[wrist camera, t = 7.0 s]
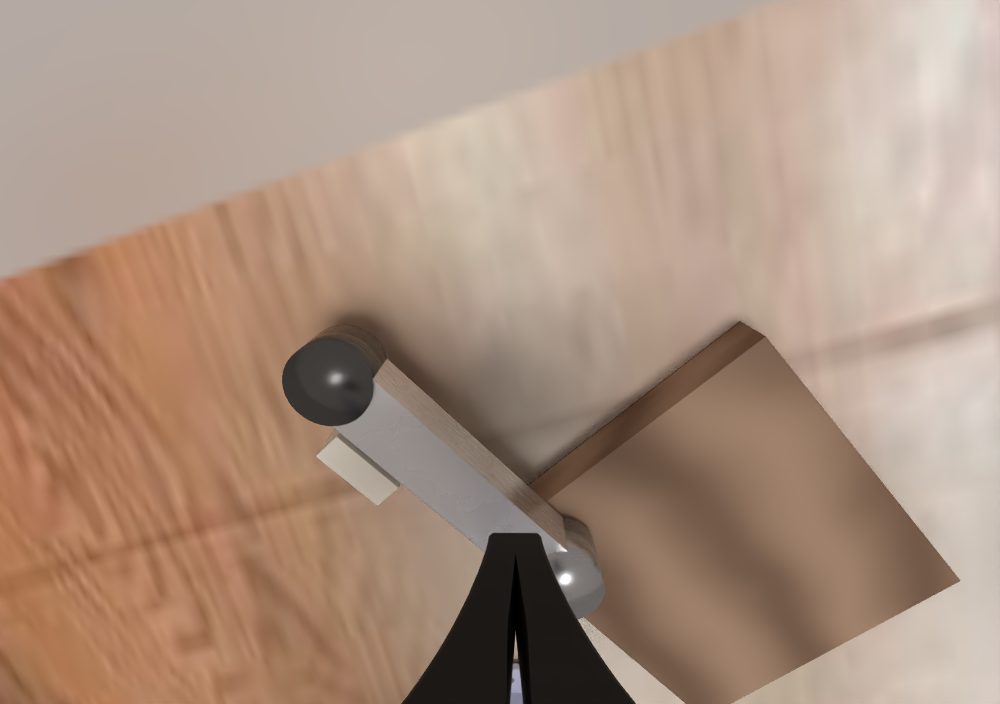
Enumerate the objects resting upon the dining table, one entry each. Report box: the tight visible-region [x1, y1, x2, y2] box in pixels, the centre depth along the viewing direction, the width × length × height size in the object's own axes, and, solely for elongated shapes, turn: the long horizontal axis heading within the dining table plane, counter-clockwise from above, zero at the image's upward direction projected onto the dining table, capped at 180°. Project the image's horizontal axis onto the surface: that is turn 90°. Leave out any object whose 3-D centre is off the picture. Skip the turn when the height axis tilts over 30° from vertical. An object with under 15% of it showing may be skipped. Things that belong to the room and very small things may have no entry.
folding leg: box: [282, 325, 605, 619], centre depth 18 cm, size 15×3×2 cm, turn 44°
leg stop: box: [316, 429, 400, 506], centre depth 19 cm, size 1×3×4 cm, turn 44°
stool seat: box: [528, 322, 960, 704], centre depth 22 cm, size 14×16×2 cm
